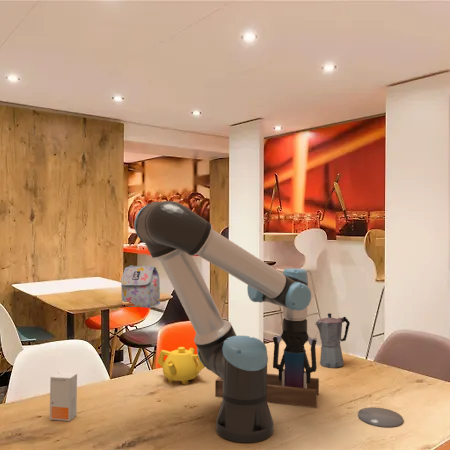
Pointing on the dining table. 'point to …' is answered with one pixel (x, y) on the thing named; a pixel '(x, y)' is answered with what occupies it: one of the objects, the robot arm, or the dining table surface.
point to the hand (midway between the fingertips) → (294, 392)
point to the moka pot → (331, 340)
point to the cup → (294, 368)
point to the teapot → (180, 364)
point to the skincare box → (63, 396)
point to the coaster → (380, 417)
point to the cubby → (283, 392)
